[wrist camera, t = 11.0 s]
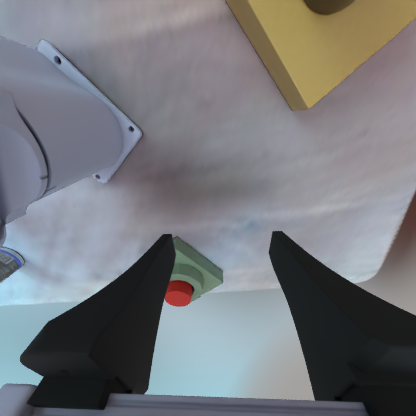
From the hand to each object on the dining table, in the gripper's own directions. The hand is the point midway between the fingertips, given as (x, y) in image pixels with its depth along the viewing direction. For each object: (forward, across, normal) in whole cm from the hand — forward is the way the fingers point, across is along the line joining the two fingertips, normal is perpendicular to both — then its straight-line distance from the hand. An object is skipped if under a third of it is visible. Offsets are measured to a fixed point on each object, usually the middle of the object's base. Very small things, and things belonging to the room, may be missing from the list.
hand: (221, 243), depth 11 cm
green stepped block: (+9, +6, +13) cm, 17 cm away
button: (+5, +6, +13) cm, 15 cm away
